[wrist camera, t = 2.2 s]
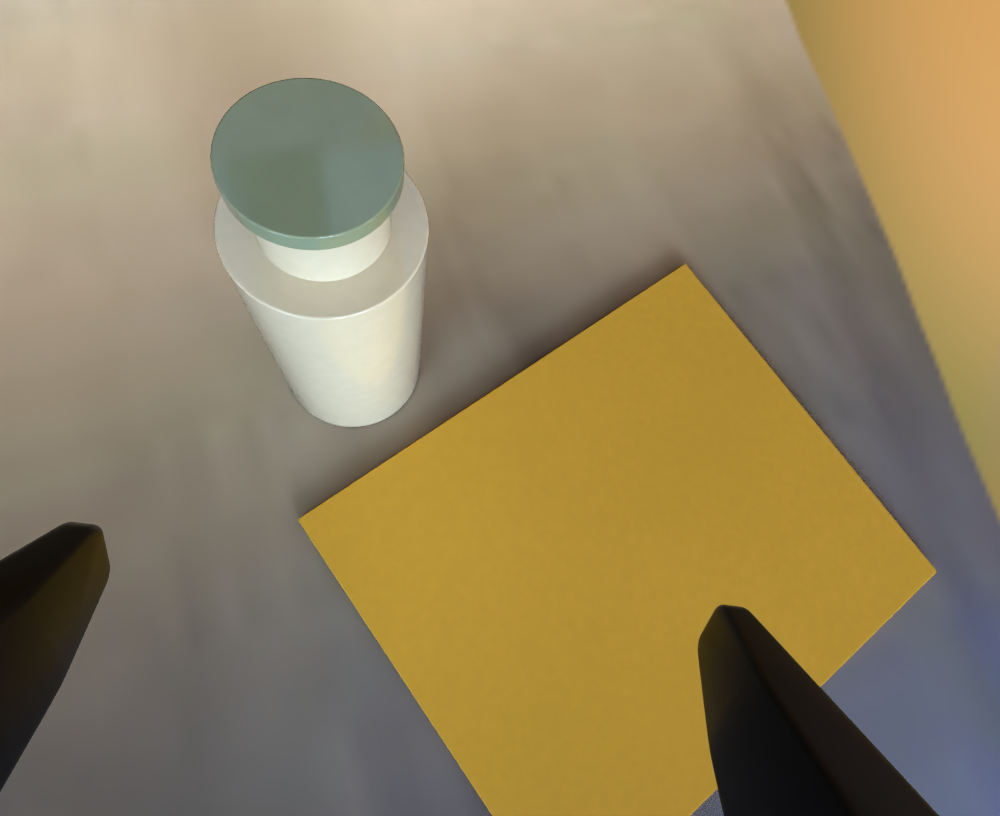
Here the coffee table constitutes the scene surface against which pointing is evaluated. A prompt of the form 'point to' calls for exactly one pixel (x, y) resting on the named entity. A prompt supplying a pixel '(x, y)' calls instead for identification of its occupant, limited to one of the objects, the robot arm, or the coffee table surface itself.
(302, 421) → the coffee table surface
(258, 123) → the bottle
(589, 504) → the cloth
